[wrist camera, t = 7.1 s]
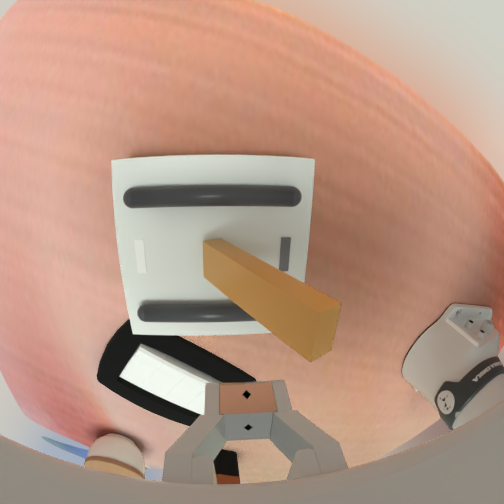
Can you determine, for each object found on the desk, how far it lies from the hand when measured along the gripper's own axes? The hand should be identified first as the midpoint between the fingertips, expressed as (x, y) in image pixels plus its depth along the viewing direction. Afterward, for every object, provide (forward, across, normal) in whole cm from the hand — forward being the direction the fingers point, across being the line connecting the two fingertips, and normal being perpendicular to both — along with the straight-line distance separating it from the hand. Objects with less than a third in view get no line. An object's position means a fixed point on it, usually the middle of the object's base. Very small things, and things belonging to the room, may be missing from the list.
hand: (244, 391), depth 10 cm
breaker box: (+19, +2, 0) cm, 19 cm away
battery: (+19, +3, +42) cm, 46 cm away
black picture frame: (+20, +8, +19) cm, 28 cm away
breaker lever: (+14, +2, 0) cm, 14 cm away
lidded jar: (+19, +21, +38) cm, 47 cm away
